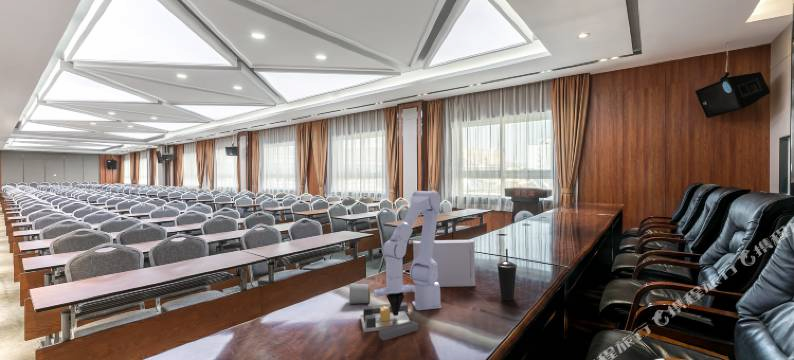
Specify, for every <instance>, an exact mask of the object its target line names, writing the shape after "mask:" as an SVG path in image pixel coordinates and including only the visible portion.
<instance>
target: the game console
mask: <svg viewBox="0 0 794 360" xmlns="http://www.w3.org/2000/svg"><path fill="white" fill-rule="evenodd" d="M412 241H413V242H412V243H413V244H412V245H413V247H412V248H413V250H412V251H413V260H414V259H416V258H417V257H418V256H419V249H420V242H421V240H412ZM475 247H476V246H475V240H474V239H445V240H444V239H443V240H442V239H441V240H439V239H437V240H436V239H435V240H434V248H433V255H432V258H433V260H434V261H435V262H436V263H437V264H438V278H437V281H436V282H438V283H439V286H440V288H443V287H444V288H445V287H448V288H449V287H475V286H476V278H475V276H476V275H475V272H476V267H475V266H476V262H475V261H476V260H475V259H476V257H475V254H476V253H475V252H476V251H475ZM421 265H424V266H428V265H425V264H421Z"/></svg>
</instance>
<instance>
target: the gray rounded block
mask: <svg viewBox="0 0 794 360" xmlns="http://www.w3.org/2000/svg"><path fill="white" fill-rule="evenodd" d="M348 295H349V298H348V299H349V301H348V302H349V304H350V305H355V304H356V305H357V304H369V303H370V302H371V284H367V283H350V285H349V294H348Z"/></svg>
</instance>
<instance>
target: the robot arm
mask: <svg viewBox="0 0 794 360" xmlns="http://www.w3.org/2000/svg"><path fill="white" fill-rule="evenodd" d="M441 201H442V198H441V196H440V193H439V191H436V190H432V191H429V190H428V191H427V190H426V191H425V190H415V191H413V193H412V196H410V206H409V208H408V210H407V213H406V214H405V218H404V220H403V221H402V222H399V223H398V224H397V226H396V228H395V229H394V231H393V233H392V234H391V237H390V239H388V240H386V241H385V242H384V243H383V246H382V249H381V253H382V255H383V257H384V262H385V272H386V274H385V276H386V277H385V278H386V279H385V281H386V287H382V288H378V289H374V290H373V297H374V298H379V297H383V296H386V298H387V300H388V302H389V304H390V305H391V308H392V313H393V315H394V316H397V315H398V313H399V309H400V305H401V303H403V302H404V299H405V294H404V293H410V292H412V293H414V301H412V305H413V307H414V309H415V310H416V311H424V310H425V311H426V310H433V309H434V310H436V309H441V308H442V306H441V287H440V286H439V283H438V282H436V281H437V278H438V264H437V263H436V262H435V261H434V260H433V258H432V255H433V248H434V240H436V239H435V238H436V232H437V222H438V215H439V213H440V211H441V210H440V209H441ZM421 214H422V215H423V221H422V229H421V236H420V241H421V242H420V249H419V256H418V257H417V258H416V259H414V258H413V260H412V263H411V264H412V265H411V267H410V269H409V277H410V279H411V280H412V283H414V284H404V275H403V274H404V270H403V266H404V265H403V263H404V262H403V257H404V256H405V255H406V254H407V253H406V252H407V245H408V244H407V243H408V241H409V240H410V237H411V236H412V233H413V230H414V229H413V225H414V224H415V222H416V221H417V220H418V218H419V216H420V215H421ZM421 264H425V265H428V266H424V265H421Z"/></svg>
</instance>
